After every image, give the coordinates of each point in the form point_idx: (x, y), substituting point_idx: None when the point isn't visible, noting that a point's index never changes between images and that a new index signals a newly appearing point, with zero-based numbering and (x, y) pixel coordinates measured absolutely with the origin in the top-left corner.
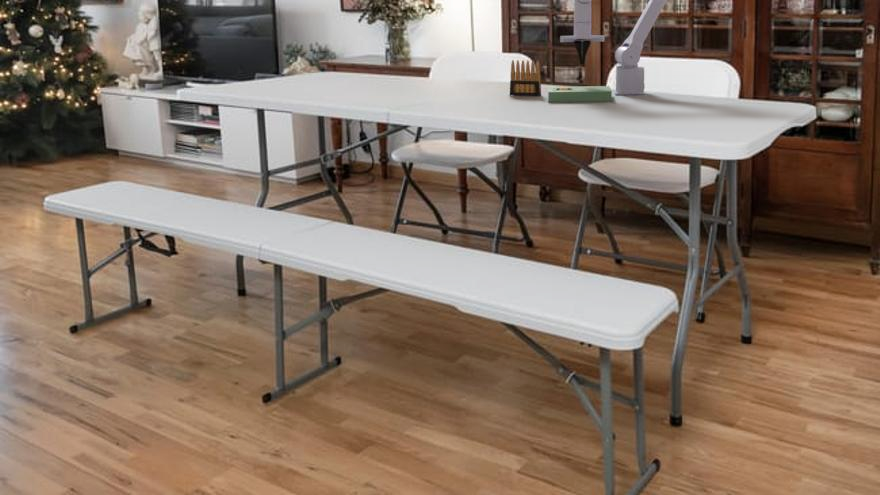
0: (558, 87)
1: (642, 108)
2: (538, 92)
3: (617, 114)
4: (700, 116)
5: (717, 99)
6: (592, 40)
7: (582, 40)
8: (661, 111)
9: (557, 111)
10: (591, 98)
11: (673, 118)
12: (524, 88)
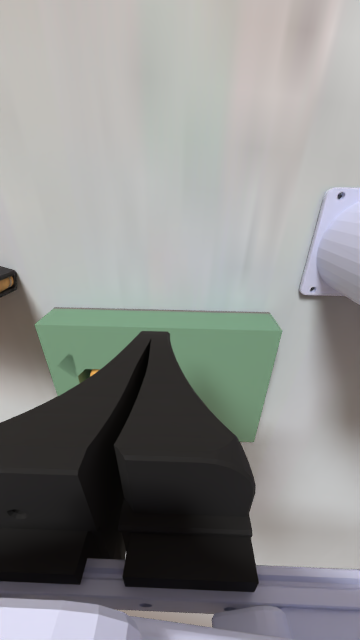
0: (77, 345)
1: (288, 488)
2: (2, 294)
3: None
4: (347, 542)
5: None
6: (285, 606)
7: (110, 604)
8: (309, 512)
9: None
10: None
11: (299, 547)
12: None
